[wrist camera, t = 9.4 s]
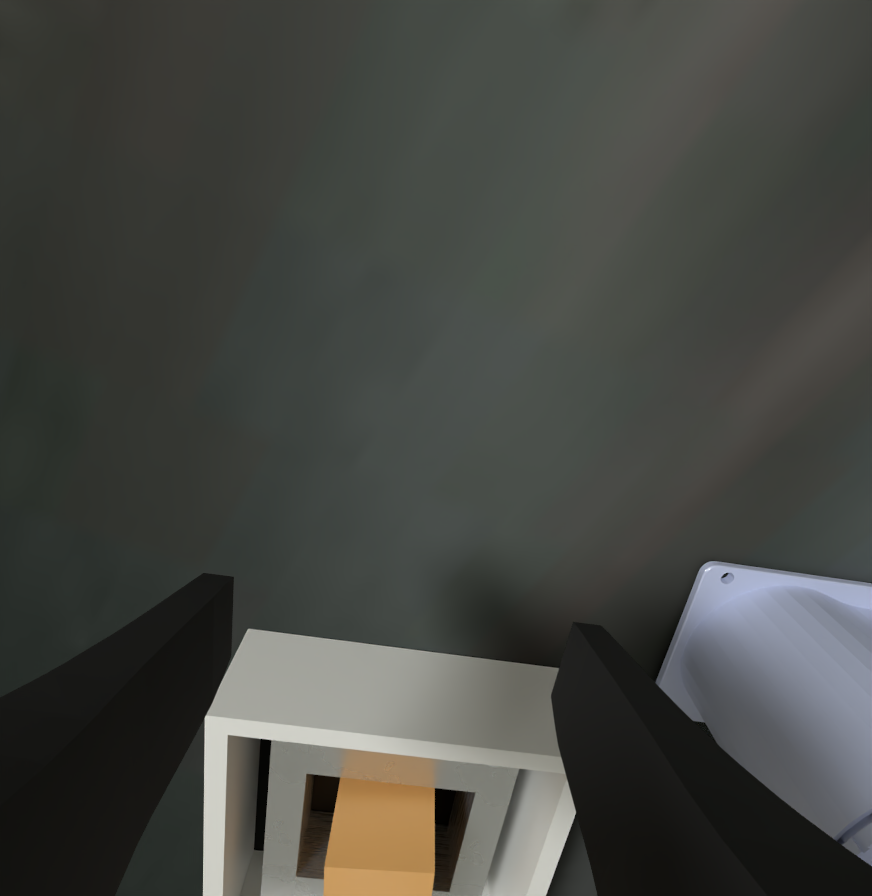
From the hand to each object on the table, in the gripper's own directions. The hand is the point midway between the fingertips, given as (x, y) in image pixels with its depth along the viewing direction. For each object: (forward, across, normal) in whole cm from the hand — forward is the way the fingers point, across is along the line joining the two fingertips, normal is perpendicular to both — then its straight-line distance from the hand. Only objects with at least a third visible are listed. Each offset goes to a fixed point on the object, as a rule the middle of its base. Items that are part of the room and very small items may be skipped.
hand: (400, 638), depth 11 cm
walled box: (+9, -1, +16) cm, 19 cm away
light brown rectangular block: (+10, -1, +16) cm, 18 cm away
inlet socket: (+9, -1, +16) cm, 19 cm away
